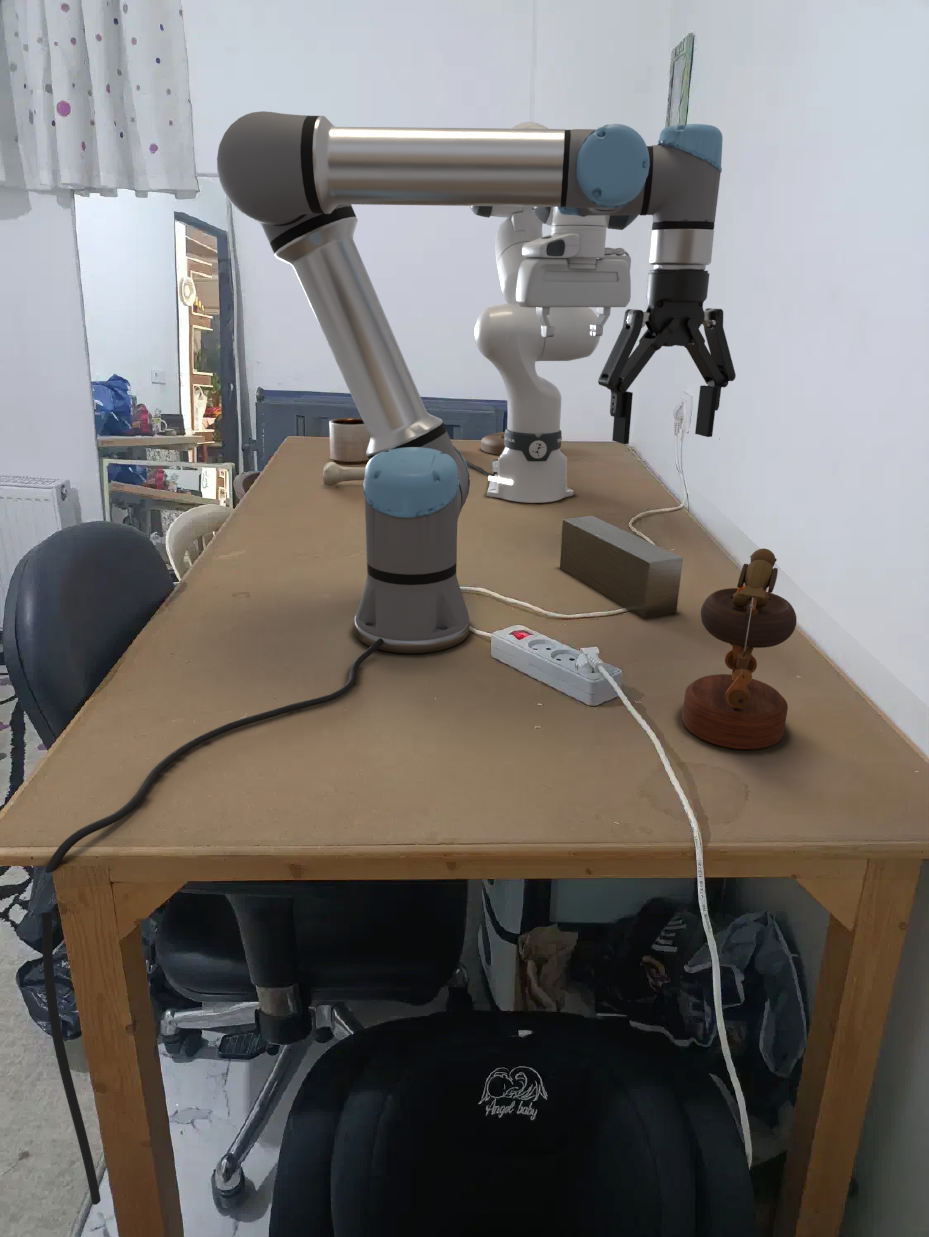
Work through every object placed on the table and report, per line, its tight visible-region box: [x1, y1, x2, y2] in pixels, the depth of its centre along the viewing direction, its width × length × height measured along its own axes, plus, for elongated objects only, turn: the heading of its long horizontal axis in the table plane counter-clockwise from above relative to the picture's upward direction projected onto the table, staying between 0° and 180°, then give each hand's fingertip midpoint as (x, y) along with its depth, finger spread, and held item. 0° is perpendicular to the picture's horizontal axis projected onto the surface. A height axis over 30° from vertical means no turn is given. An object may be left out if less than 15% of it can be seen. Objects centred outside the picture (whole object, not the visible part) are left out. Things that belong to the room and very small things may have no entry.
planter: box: [328, 417, 370, 464], centre depth 212 cm, size 11×11×10 cm
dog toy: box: [322, 461, 366, 486], centre depth 189 cm, size 20×6×5 cm, turn 99°
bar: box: [559, 515, 684, 620], centre depth 128 cm, size 24×6×8 cm, turn 24°
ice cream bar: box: [480, 431, 505, 456], centre depth 223 cm, size 21×28×4 cm
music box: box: [681, 548, 797, 750], centre depth 88 cm, size 15×11×20 cm
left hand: (662, 439), depth 114 cm, fingers open, 13 cm apart
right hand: (572, 336), depth 142 cm, fingers open, 8 cm apart
